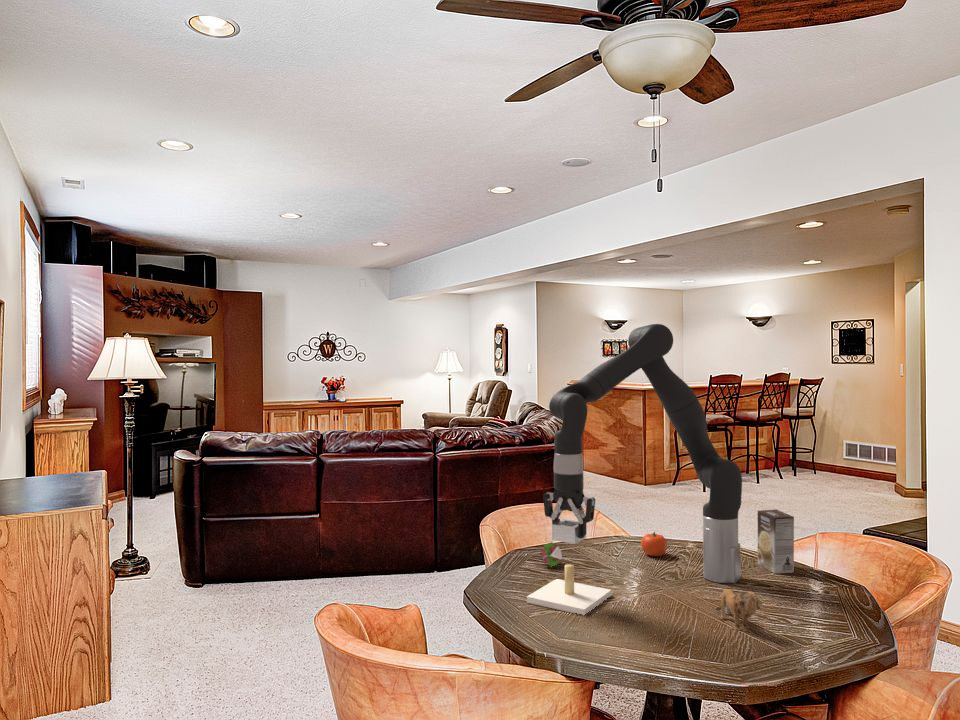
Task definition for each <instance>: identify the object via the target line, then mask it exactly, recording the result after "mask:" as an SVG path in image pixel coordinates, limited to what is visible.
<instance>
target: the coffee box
mask: <svg viewBox="0 0 960 720" xmlns="http://www.w3.org/2000/svg"><path fill="white" fill-rule="evenodd" d="M794 532H795V517H794V516H793V515H791V514H788V513H787V512H786V513H785V512H783V511H781V510H778V509H764V510H763V509H762V510H757V565H759V566H760V567H762V568H764V569H766V570H767V571H769V572H771V573H773V574H789V573H794V572H795V571H794V570H795V565H794V564H795V561H794V560H795V550H794V549H795V547H794V546H795V533H794Z"/></svg>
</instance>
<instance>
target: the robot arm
mask: <svg viewBox="0 0 960 720" xmlns="http://www.w3.org/2000/svg"><path fill="white" fill-rule="evenodd" d="M627 339H628V341H627V342H628V343H627V344H628V348H626V349H625V350H624V351H622V352H621V353H619V354H617V355H615V356H614V357H612V358H609V359H608V360H607V361H604V362H603V363H600V365H598V366H597V367H595V368H593V369H592V370H591V371H590V372H589V373H587V374H586V375H584V376H583V377H581V379H580V380H578V381H575V382H573V383H571V384H569V385H567V386H565V387H563V388H562V389H560V390H558V391H557V392H556V393H555V394H553V396H552V398H551V399H550V400H549V401H550V402H549V404H548V405H549V406H548V410H549V412H550V414H551V415H552V417H554V418H557V419H559V420H562V423H561V424H562V425H561V429H559V430H557V431H555V433H554V457H553V467H552V469H553V488H554V490H553V492H550V491H549V492H548V491H547V492H545V493H543V495H542V497H543V498H542V500H543V501H542V502H543V509H544V516H545V517H546V518H547V517H548V518H550V519H551V521H552V522H551V525H552V524H554V523H557V522H559V521H561V518H560V516H561V515H562V512H563V511H569V512H572V513H573V515H574V516H575V517H576V519H577V521H578V522H579V524H578V526H579V538H581V539H582V538H584V536H585V535H586V536H587V523H590V522H592V521H594V519H595V508H596V498H595V497H594V496H592V497H588V496H585V493H584V458H583V434H584V430H585V425H586V421H587V418H588V405H587V404H588V403H594V402H597V401H598V400H600V399H602V398H603V397H604V396H605V395H607V394H608V393H609V392H611V391H612V390H613V389H614V388H616V387H617V386H618V385H619V384H621V383H623V381H624V380H626V379H627V378H629V377H631V375H633V374H634V373H635V372H637V371H639V370H642V371H643V373H644V374H645V376H646V378H647V379H648V380H649V382H650V385H651V386H652V389H653V390H654V392H655V394H656V396H657V397H658V399H659V400H660V402H661V405H662V406H663V409H664V410H665V413H666V415H667V417H668V419H669V421H670V423H671V424H672V425H673V428H674V429H675V430H676V433H677V434H678V437H679V438H680V440H681V442H682V443H683V446H684V447H685V449H686V451H687V453H688V456H689V457H690V460H691V463H692V465H693V468H694V471H695V473H696V475H697V478H698V479H699V481H700V482H701V484H702V485H703V486H704V487H706V488H707V489H709V500H708V502H706V503H704V504H703V506H702V553H703V554H702V555H703V556H702V559H703V561H702V564H703V565H702V566H703V567H702V570H703V575H702V576H703V577H704V579H705V580H708V581H711V582H714V583H722V584H723V583H724V584H736V583H737V582H738V581H739V580H740V579H741V577H742V575H741V569H742V568H741V543H740V542H739V511H740V509H741V506H742V505H741V504H742V494H743V493H742V492H743V491H742V490H743V489H742V488H743V477H742V472H741V469H740V466H738V464H737V463H735V462H734V461H732V460H729V459H726V458H722V456H720V454H719V453H718V451H717V450H716V448H715V446H714V445H713V443H712V441H711V439H710V437H709V433H708V425H707V416H706V414H705V410H704V408H703V406H702V404H701V403H700V400H699V399H698V397H697V395H696V394H695V392H694V390H693V389H692V388H691V387H690V386H689V385H688V384H687V383H686V382H685V381H684V380H683V379H682V378H681V377H679V375H678V374H676V373H675V372H674V371H673V369H671V368H670V366H669V365H668V363H667V362H666V360H665V358H664V356H666V355H667V354H669V352H670V351H671V350H672V348H673V345H674V336H673V333H672V331H671V329H670V328H668V326H666V325H665V324H661V323H653V324H652V323H651V324H648V325H644V326H640V327H637V328H634V329H633V330H632V331H630V334H629V336H628V338H627ZM553 500H554V501H555V503H556V504H555V507H554V505H553ZM583 503H584V505H585V508H586V509H585V510H584V508H583V505H582V504H583ZM553 507H554V508H553Z"/></svg>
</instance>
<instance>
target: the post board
mask: <svg viewBox="0 0 960 720" xmlns="http://www.w3.org/2000/svg"><path fill="white" fill-rule="evenodd" d="M608 597H609V598H610V597H612V589H609V588H604V587H599V586H594V585H590V584H585V583H580V582H579V583H578V582H575V565H574V564H571V563H569V564H565V565H564V579H558V578H556V579H554V580H552V581H550V582H549V583H546V584H545V585H544V586H542V587H540V588H538V589H537V590H535V591H534V592H532V593H530V594H529V595H527V596H526V603H528V604H532V605H536V606H541V607H544V608H550V609H554V610H558V611H563V612H567V613H570V614H575V613H577V614H576V615H579V614H582V615H581V616H584V615H585V614H586V613H588V612H589V611H590V612H592V611H593V610H595V607H596V606H597V607H598V606H600V605H601V604H602V603H603V601H604V600H605V601H606V600H608V599H609V598H608ZM607 598H608V599H607ZM605 601H604V602H605ZM600 603H601V604H600ZM599 604H600V605H599ZM597 607H596V608H597ZM592 609H593V610H592ZM591 610H592V611H591ZM590 612H589V613H590ZM589 613H588V614H589ZM586 615H587V614H586ZM586 615H585V616H586Z"/></svg>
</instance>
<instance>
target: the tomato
mask: <svg viewBox="0 0 960 720" xmlns="http://www.w3.org/2000/svg"><path fill="white" fill-rule="evenodd" d="M640 546H641V549H642V551H643V552H644V553H645V555H647V556H650V557H661V556H662V555H664V554H665V553H666V552H667V550H668V540H667V539H666V538H665V537H664V536H663V535H662V534H658V533H656V532H655V531H653V533H647V534H645V535H643V536H642V538H641V539H640Z"/></svg>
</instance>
